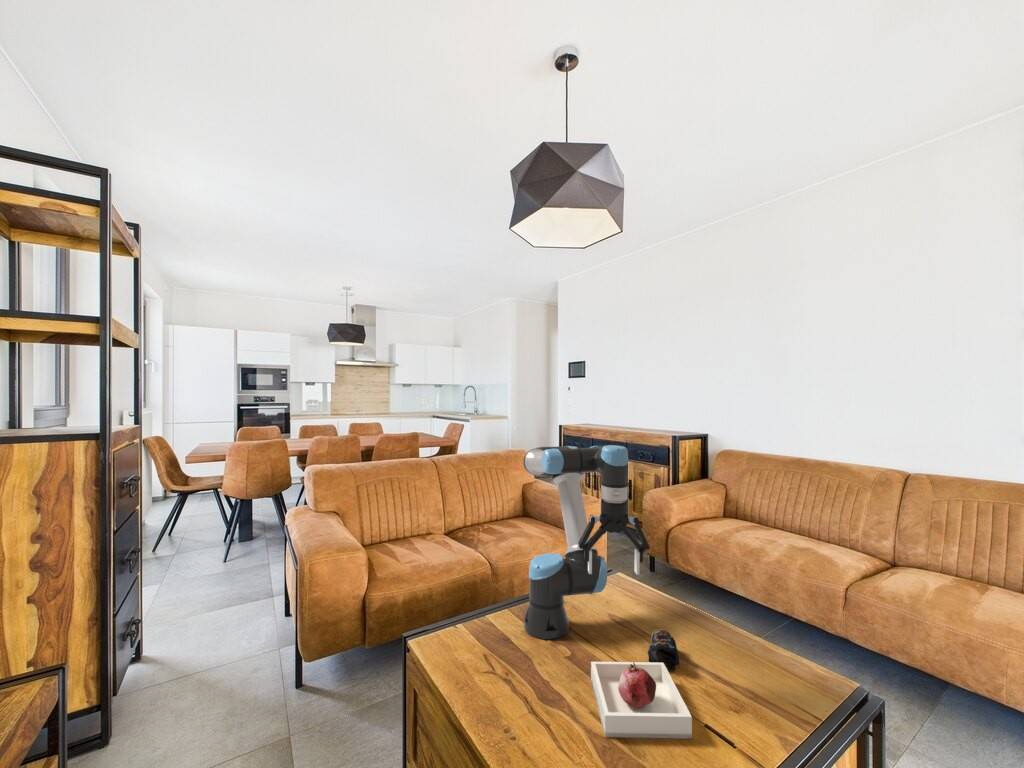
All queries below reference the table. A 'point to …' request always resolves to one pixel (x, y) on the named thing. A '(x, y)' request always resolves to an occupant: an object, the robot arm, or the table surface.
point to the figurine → (663, 649)
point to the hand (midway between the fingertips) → (613, 572)
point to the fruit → (636, 687)
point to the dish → (649, 721)
